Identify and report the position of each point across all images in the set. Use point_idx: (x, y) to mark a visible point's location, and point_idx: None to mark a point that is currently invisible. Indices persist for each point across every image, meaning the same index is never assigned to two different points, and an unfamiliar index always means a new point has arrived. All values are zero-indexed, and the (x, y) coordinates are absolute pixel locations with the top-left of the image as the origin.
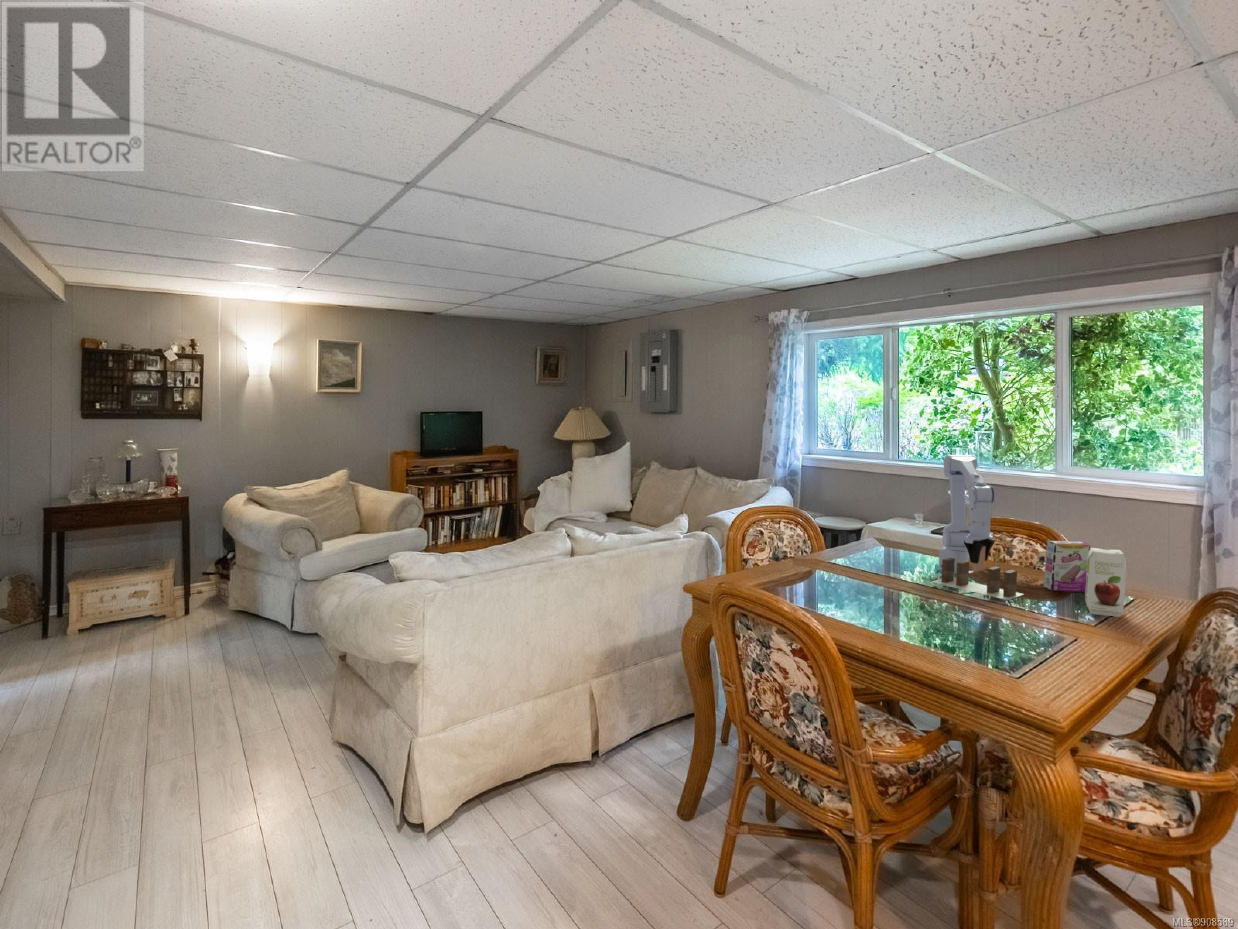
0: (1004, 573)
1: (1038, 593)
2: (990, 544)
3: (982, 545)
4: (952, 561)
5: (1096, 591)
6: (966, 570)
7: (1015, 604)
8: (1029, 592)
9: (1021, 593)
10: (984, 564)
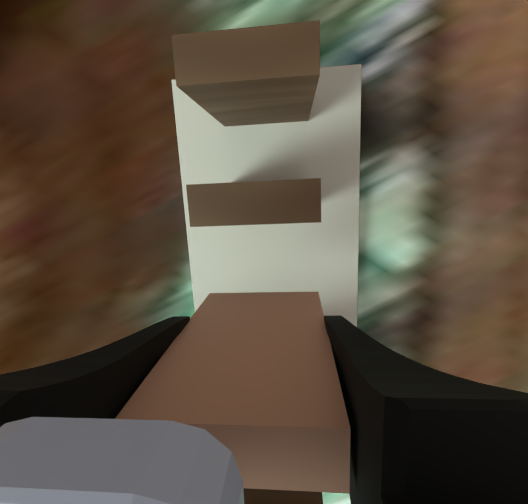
0: (317, 77)
1: (71, 65)
2: (65, 388)
3: (445, 395)
4: (248, 489)
5: None
6: None
7: (375, 16)
8: (95, 101)
9: (173, 95)
10: (202, 308)
